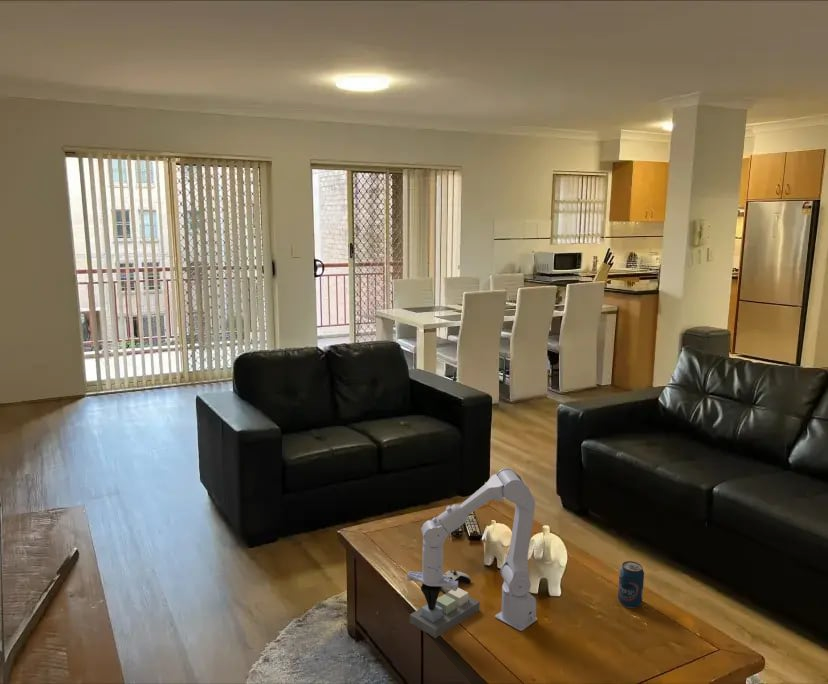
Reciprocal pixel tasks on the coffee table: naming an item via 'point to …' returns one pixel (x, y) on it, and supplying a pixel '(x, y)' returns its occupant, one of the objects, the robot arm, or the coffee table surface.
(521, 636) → the coffee table surface
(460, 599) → the ivory key
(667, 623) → the coffee table surface
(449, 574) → the gaming controller
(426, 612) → the slate key
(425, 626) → the key panel
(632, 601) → the soda can
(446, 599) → the sage key
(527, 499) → the robot arm
